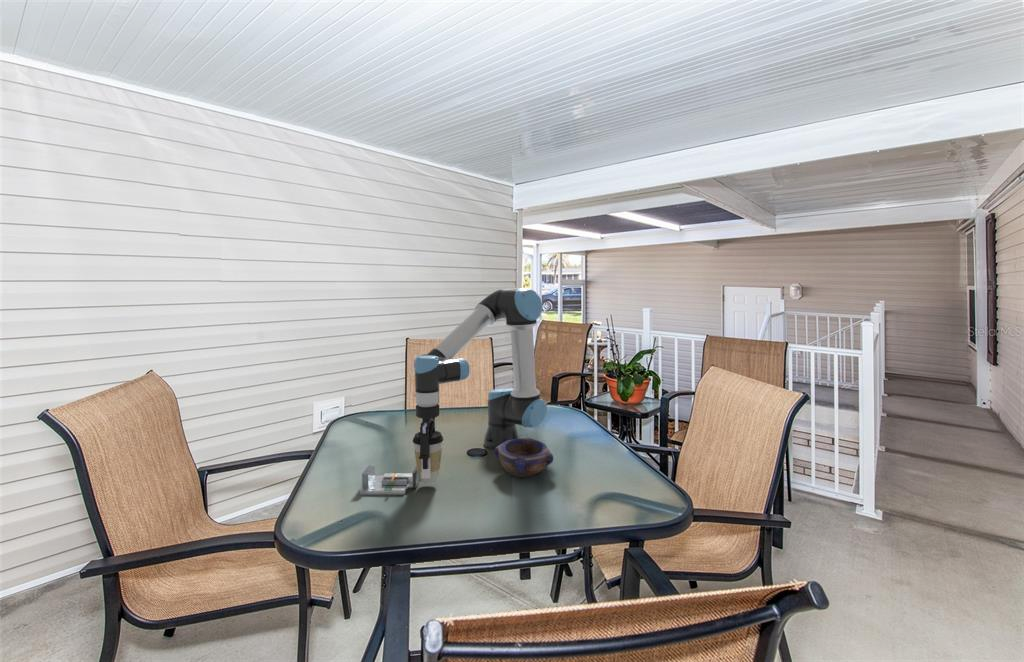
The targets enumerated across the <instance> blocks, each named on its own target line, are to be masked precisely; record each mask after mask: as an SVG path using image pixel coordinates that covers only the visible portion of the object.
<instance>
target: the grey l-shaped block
mask: <svg viewBox="0 0 1024 662" xmlns="http://www.w3.org/2000/svg"><path fill="white" fill-rule="evenodd" d="M375 467H376V466H375V465H368V466H367V467H366V468H365V469H364V471H363V472H362V473H361V484H362V485H361V488H360V489H359V496H362V495H363V496H365V495H371V496H372V495H373V496H374V495H378V496H380V495H382V496H383V495H385V496H386V495H388V496H389V495H394V496H395V495H398V496H399V495H406V493H407V491H408V489H409V487H410V485H411V484H407V479H394V481H391V479H383V475H376V469H375Z"/></svg>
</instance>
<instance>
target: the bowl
mask: <svg viewBox="0 0 1024 662" xmlns="http://www.w3.org/2000/svg"><path fill="white" fill-rule="evenodd" d="M494 454H495V456H496V458H497V459H498V461H500V463H501V464H500V465H501V466H502V467H503V468H504V470H505V471H506V472H507V473H509V474H510V475H512V476H513V477H518V478H524V477H525V478H526V477H532V476H535V475H537V474H538V473H541V471H543V470H544V469H545V468H547V467H548V466H549V465H551V464H552V463H554V455H553V453H552V452H551V451H550V449H549V447H548V446H547V444H546V443H544V442H542V441H540V440H538V439H534V438H530V437H528V438H526V437H523V438H522V437H520V439H512V440H508V441H506V442H504V443H502V444H501V445H499V446H497V447H496V448H495V449H494Z"/></svg>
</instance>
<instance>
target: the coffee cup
mask: <svg viewBox="0 0 1024 662" xmlns="http://www.w3.org/2000/svg"><path fill="white" fill-rule="evenodd" d="M443 441H444V437H443V435H442V433H441V432H440V431H438V430H435V431H434V432H433V433H432V437H430V438H429V445H430V455H429V456H430V473H431V478H422V473H421V459H419V457H420V431H418V432H416V433H415V434H414V436H413V438H412V443H413V445H414V457H415V463H416V466H417V470H418V475H419V482H420V483H422V484H431V483H435V482H437V481H438V480H439V476H440V475H439V474H440V468H441V460H442V450H443V447H442V446H443Z"/></svg>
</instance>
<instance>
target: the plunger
mask: <svg viewBox="0 0 1024 662" xmlns="http://www.w3.org/2000/svg"><path fill="white" fill-rule="evenodd" d="M382 476H383V479H391V481H394V479H407V484H410V485H411V484H412V489H416V488H417V487H418V484H419V482H420V481H419V475H418V470H417V465H416V466H415V468H414V470H413V471H412V472H411V473H409V472H405V473H404V472H403V473H401V472H398V473H397V472H396V473H395V472H394V473H393V472H389V473H388V472H386V473H384V474H383V475H382Z"/></svg>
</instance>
